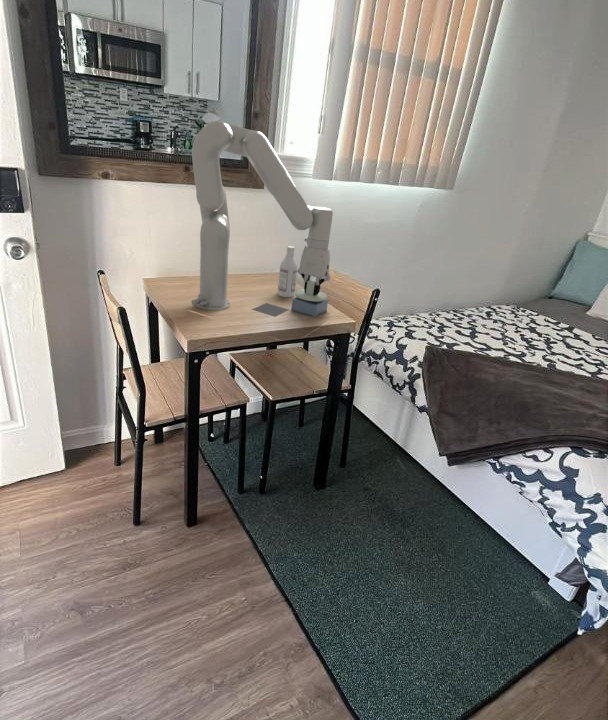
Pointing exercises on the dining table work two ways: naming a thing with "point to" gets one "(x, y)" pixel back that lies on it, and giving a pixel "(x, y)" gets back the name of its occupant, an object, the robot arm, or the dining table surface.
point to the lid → (310, 293)
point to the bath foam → (288, 274)
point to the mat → (270, 309)
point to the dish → (309, 307)
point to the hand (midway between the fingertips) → (311, 292)
